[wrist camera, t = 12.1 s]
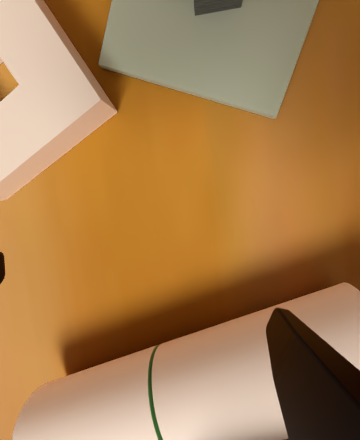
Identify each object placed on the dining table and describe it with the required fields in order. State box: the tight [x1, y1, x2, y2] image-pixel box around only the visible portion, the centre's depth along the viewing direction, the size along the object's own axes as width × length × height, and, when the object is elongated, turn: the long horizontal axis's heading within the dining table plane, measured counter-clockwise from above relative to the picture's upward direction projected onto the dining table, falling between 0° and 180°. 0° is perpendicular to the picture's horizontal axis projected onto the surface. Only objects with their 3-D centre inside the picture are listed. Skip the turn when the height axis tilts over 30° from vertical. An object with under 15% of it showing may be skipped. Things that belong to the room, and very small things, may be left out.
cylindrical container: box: [12, 282, 360, 440], centre depth 18 cm, size 7×7×25 cm
